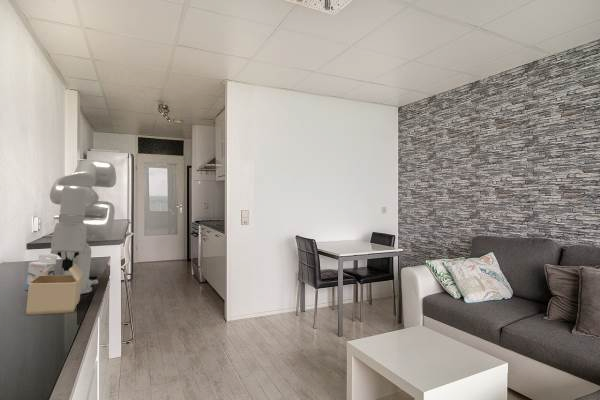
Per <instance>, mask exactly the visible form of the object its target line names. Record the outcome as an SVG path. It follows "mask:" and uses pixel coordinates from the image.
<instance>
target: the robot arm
mask: <svg viewBox="0 0 600 400" xmlns="http://www.w3.org/2000/svg"><path fill="white" fill-rule="evenodd" d="M116 183H117V173H116V168H115V166H114V164H112V163H111V162H109V161H102V160H95V159H84V160H81V161H80V162H79V163H78V164H77V166H76V168H75V171H74V172H72V173H69V174H66V175H63V176H60V177H58V178H57V179H55V181H54V183H53V185H52V187H51V189H50V193H49V198H50V201H51V202H52V204H54V205H58V206H59V205H60V206H59V207H60V209H59V214H57V215H54V220H57V221H58V222H55V225H54V228H53V233H52V238H51V242H50V243H51V244H50V249H51V250H50V255H54V256H58V257H59V258H60V259H61V260H62V263H61V269H62V275H71V273H70V272H69V269H70V268H71V267H72V266H73V265H74V264H75V263H76V265H77V266H78V268H79V269H80V270H81V272H82V273H83V275H82V281H81V292H80V295H84V294H88V293H91V292H92V291H93V287H92V285H98V284H99V280H98V279H90V272H91V271H90V269H91V260H92V248H91V246H90V245H89V243H87V241H88V240H91V241H95V240H96V241H105V240H109V239H110V238H111V235H112V233H113V228H114V220H115V212H116V211H115V210H116V209H115V206H114V204H113V203H112V202H109V201H104V200H99V195H98V193H97V192H96V191H95V190H94V189H93V187H97V188H98V187H99V188H107V189H108V188H109V189H110V188H113V187H114V186H115V185H116Z"/></svg>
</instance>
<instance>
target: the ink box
mask: <svg viewBox="0 0 600 400" xmlns="http://www.w3.org/2000/svg"><path fill="white" fill-rule="evenodd" d="M57 256H58V255H55V254H41V253H40V254H38V261H31V262H28V270H27V278H26V285H25V286H26V289H29V284H30V283H29V281H31V280H32V279H33V278H35V277H36V276H37V275H39V274H40V273H41V272H43V271H44V270H45V269H47V268H48V267H49V266H51V265H52V267H50V268H49V269H48V270H47V271H45V272H44V273H43V274H41V275H56V268H57ZM48 258H49V259H48ZM37 278H38V277H37ZM33 281H34V280H33ZM26 289H25V290H26Z"/></svg>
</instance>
